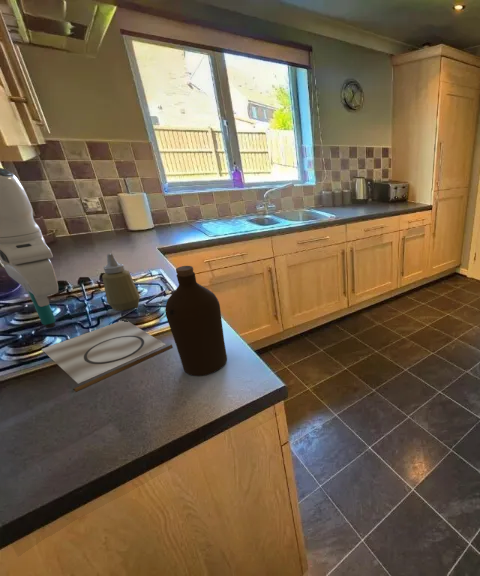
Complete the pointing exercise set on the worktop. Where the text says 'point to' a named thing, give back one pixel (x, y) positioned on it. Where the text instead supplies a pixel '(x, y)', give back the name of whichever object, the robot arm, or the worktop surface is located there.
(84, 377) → the drawing board
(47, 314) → the marker
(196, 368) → the olive oil
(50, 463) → the worktop surface
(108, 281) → the squeeze bottle
